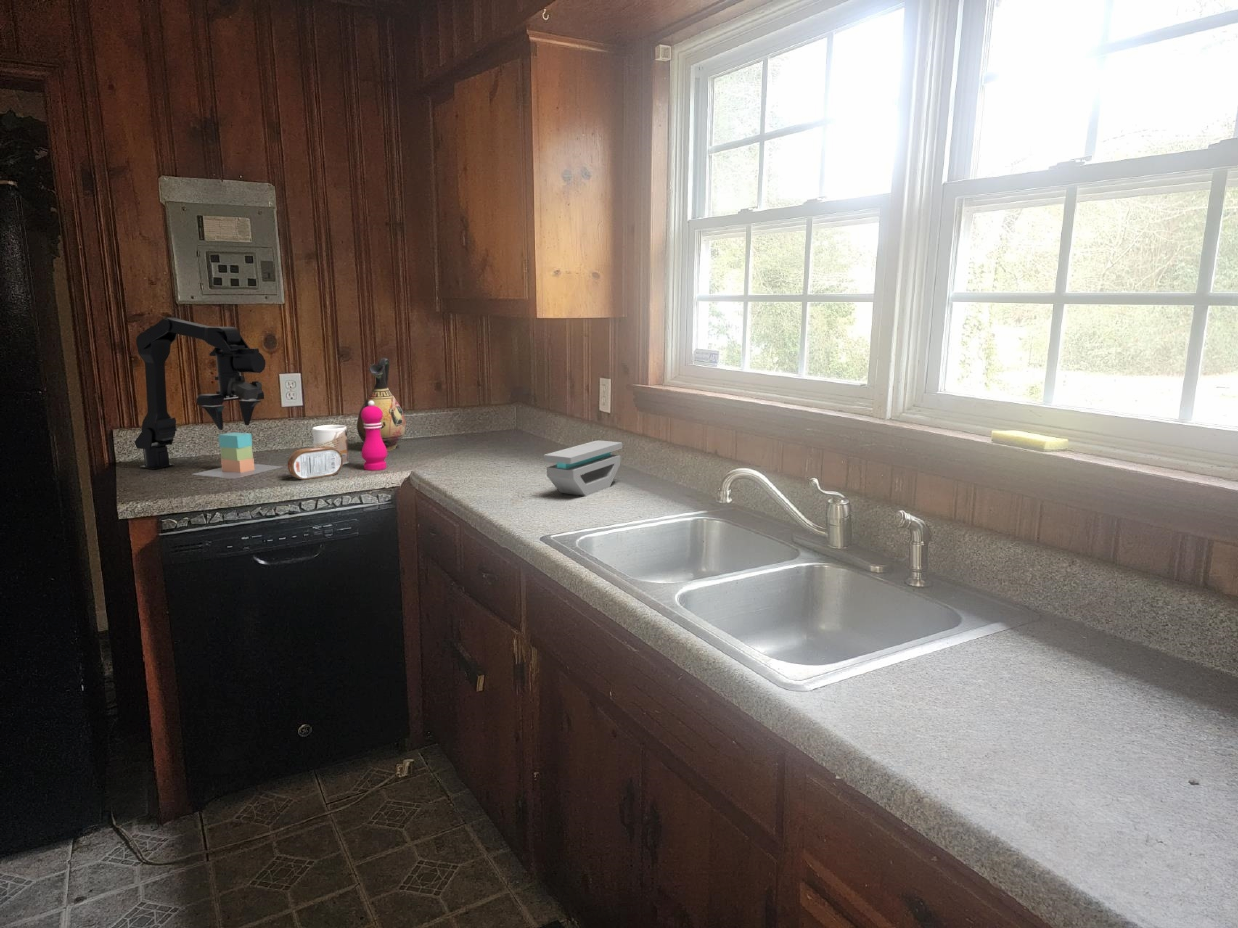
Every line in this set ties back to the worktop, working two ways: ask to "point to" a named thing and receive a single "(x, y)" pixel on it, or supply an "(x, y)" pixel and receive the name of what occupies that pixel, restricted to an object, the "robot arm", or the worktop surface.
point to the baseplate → (233, 475)
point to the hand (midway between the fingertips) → (234, 427)
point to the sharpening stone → (584, 467)
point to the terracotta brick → (237, 465)
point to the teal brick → (235, 440)
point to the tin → (315, 462)
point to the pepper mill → (373, 438)
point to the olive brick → (236, 453)
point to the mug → (332, 438)
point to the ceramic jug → (384, 408)
